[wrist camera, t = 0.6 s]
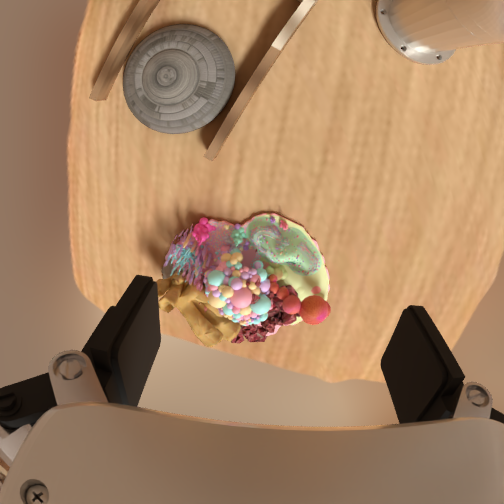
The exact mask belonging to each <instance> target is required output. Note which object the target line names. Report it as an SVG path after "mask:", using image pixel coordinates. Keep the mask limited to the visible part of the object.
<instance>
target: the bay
mask: <svg viewBox="0 0 504 504" xmlns="http://www.w3.org/2000/svg"><path fill="white" fill-rule="evenodd" d="M159 1H160V0H139V2H138V4H137V5H136V7H135V8H134V10H133V12H132V13H131V15H130V17H129V19H128V20H127V22H126V24H125V25H124V27H123V29H122V31H121V33H120V34H119V36H118V38H117V40H116V42H115V44H114V46H113V48H112V50H111V51H110V53H109V55H108V57H107V59H106V62H105V64H104V66H103V68H102V70H101V72H100V74H99V76H98V79H97V81H96V83H95V85H94V87H93V90H92V92H91V94H90V97H89V98H90V99H92V100H95V101H101V100H106V99H107V97H108V94H109V92H110V90H111V88H112V86H113V84H114V81H115V79H116V77H117V75H118V73H119V71H120V69H121V67H122V65H123V63H124V61H125V59H126V57H127V55H128V54H129V52H130V50H131V48H132V46H133V44H134V42H135V41H136V39H137V37H138V35H139V34H140V32H141V30H142V28H143V27H144V25H145V23H146V22H147V20H148V18H149V17H150V15H151V13H152V12H153V10H154V9H155V7H156V5H157V4H158V2H159ZM297 1H299V2H301V4H300V6H299V7H298V8H297V10H296V11H295V12H294V14H293V15H292V17H291V18H290V19H289V21H288V22H287V24H286V25H285V26H284V28H283V29H282V31H281V32H280V33H279V35H278V36H277V38H276V39H275V41H274V42H273V44H272V45H271V47H270V49H269V50H268V52H267V53H266V55H265V56H264V58H263V59H262V61H261V62H260V64H259V65H258V67H257V68H256V70H255V71H254V73H253V75H252V76H251V78H250V79H249V81H248V82H247V84H246V86H245V87H244V89H243V90H242V92H241V94H240V95H239V97H238V99H237V100H236V102H235V103H234V105H233V107H232V108H231V110H230V112H229V113H228V115H227V117H226V118H225V120H224V122H223V124H222V125H221V127H220V129H219V130H218V132H217V134H216V136H215V137H214V139H213V141H212V143H211V144H210V146H209V148H208V150H207V152H206V153H205V155H204V157H205V158H207V159H209V160H211V161H213V160H214V159H215V158H216V156H217V155H218V153H219V151H220V150H221V148H222V146H223V144H224V143H225V141H226V139H227V138H228V136H229V134H230V132H231V131H232V129H233V127H234V126H235V124H236V122H237V121H238V119H239V117H240V116H241V114H242V113H243V111H244V109H245V108H246V106H247V104H248V103H249V101H250V100H251V98H252V96H253V95H254V93H255V92H256V90H257V88H258V87H259V85H260V84H261V82H262V81H263V79H264V78H265V76H266V75H267V73H268V71H269V70H270V68H271V67H272V65H273V64H274V62H275V61H276V59H277V58H278V56H279V55H280V53H281V52H282V50H283V49H284V48H285V46H286V45H287V43H288V42H289V40H290V39H291V37H292V36H293V34H294V33H295V32H296V30H297V29H298V27H299V26H300V25H301V23H302V22H303V20H304V19H305V18H306V16H307V15H308V13H309V12H310V11H311V9H312V8H313V7H314V5H315V4H316V3H317V1H318V0H297Z"/></svg>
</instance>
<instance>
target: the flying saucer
mask: <svg viewBox="0 0 504 504" xmlns="http://www.w3.org/2000/svg"><path fill="white" fill-rule="evenodd" d="M234 82H235V66H234V61H233V58H232V55H231V53H230V51H229V49H228V48H227V46H226V45H225V43H224V42H223V41H222V40H221V39H220V38H219V37H218V36H217V35H215V34H214V33H213V32H211V31H209V30H207V29H205V28H202V27H199V26H196V25H190V24H178V25H171V26H167V27H164V28H162V29H159V30H157V31H155V32H153V33H152V34H150V35H149V36H147V37H146V38H145V39H144V40H142V41H141V42H140V43H139V44H138V46H137V47H136V48H135V49H134V51H133V52H132V54H131V55H130V57H129V59H128V62H127V64H126V67H125V71H124V76H123V91H124V96H125V99H126V102H127V105H128V107H129V109H130V110H131V112H132V113H133V115H134V116H135V117H136V118H137V119H138V120H139V121H140V122H141V123H143V124H144V125H146V126H147V127H149V128H151V129H153V130H156V131H159V132H162V133H168V134H180V133H187V132H190V131H194V130H196V129H199V128H201V127H203V126H204V125H206V124H208V123H209V122H211V121H212V120H213V119H214V118H215V117H216V116H217V115H218V114H219V113H220V112H221V111H222V110H223V108H224V107H225V106H226V104H227V102H228V100H229V99H230V96H231V94H232V91H233V87H234Z"/></svg>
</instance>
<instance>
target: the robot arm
mask: <svg viewBox="0 0 504 504" xmlns="http://www.w3.org/2000/svg"><path fill="white" fill-rule="evenodd" d="M381 12H382V13H383V14H381ZM376 19H377V22H378V26H379V28H380V30H381V33H382V34H383V36H384V38H385V39H386V41H387V42H388V43H389V44H390V45H391V46H392V48H393V49H394V50H396V51H397V52H398V53H399V54H400V55H402V56H404V57H405V58H407V59H409V60H411V61H413V62H416V63H420V64H426V65H432V64H439V63H442V62H444V61H446V60H448V59H449V58H450V57H451V56H452V55H453V54H454V52H455V51H456V49H461V48H467V47H474V46H481V45H489V44H497V43H504V0H378V1H377V4H376ZM401 47H402V49H403V50H401ZM437 58H438V59H437ZM160 342H161V334H160V320H159V304H158V286H157V282H155V281H153V279H152V277H148V276H142V275H136V276H135V278H134V279H133V281H132V282H131V284H130V285H129V287H128V288H127V290H126V291H125V293H124V294H123V296H122V297H121V299H120V300H119V302H118V303H117V305H116V306H111V307H110V308H109V309H108V310H107V312H106V313H105V315H104V316H103V318H102V320H101V321H100V323H99V324H98V326H97V327H96V329H95V331H94V332H93V333H92V335H91V337H90V338H89V340H88V341H87V343H86V344H85V346H84V348H83V349H82V351H81V352H80V351H77V350H68V351H63V352H61V353H59V354H57V355H56V356H54V357H53V358H52V360H51V361H50V363H49V366H48V370H49V372H48V373H45V374H42V375H39V376H36V377H33V378H30V379H27V380H24V381H21V382H18V383H15V384H12V385H8V386H5V387H3V388H0V504H504V414H502V413H500V412H499V411H497V410H495V409H494V408H492V396H491V394H490V392H489V391H488V389H486V387H484V386H483V385H481V384H479V383H477V382H468V383H466V384H465V385H464V384H463V382H462V381H463V380H464V378H465V376H464V374H463V372H462V370H461V368H460V366H459V365H458V363H457V361H456V359H455V358H454V356H453V354H452V352H451V351H450V349H449V347H448V346H447V344H446V342H445V340H444V339H443V337H442V335H441V334H440V332H439V331H438V329H437V327H436V326H435V324H434V322H433V321H432V319H431V318H430V316H429V314H428V313H427V311H426V310H425V308H424V307H423V306H414V305H410V306H408V307H407V309H404V310H403V312H402V315H401V317H400V319H399V322H398V324H397V326H396V328H395V331H394V333H393V335H392V337H391V340H390V342H389V344H388V346H387V348H386V350H385V352H384V354H383V356H382V359H381V369H382V371H383V374H384V377H385V380H386V383H387V386H388V389H389V392H390V395H391V398H392V401H393V404H394V407H395V410H396V414H397V417H398V420H399V423H400V424H392V425H376V426H353V427H302V426H279V425H263V424H251V423H239V422H231V421H222V420H214V419H207V418H200V417H193V416H187V415H180V414H173V413H168V412H162V411H157V410H152V409H147V408H141V407H137V405H138V403H139V400H140V397H141V394H142V391H143V389H144V386H145V383H146V381H147V378H148V375H149V373H150V370H151V367H152V365H153V362H154V360H155V357H156V354H157V352H158V349H159V347H160Z"/></svg>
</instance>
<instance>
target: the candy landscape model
mask: <svg viewBox="0 0 504 504" xmlns="http://www.w3.org/2000/svg"><path fill="white" fill-rule="evenodd" d="M192 226H193V224H192ZM192 226H191V230H190V232H189V234H188V236H187V232H188V230H189V229H187V230H186V231H185V232H184V230H183V231H182V232H181V233H180V234H179V236H178V237H180V236H181V235H182V234H183V232H184V234H183V235H184V237H183V236H181V238H180V241H179V242H178V243H177V244H176V245H175V244H173V242H174V241H172V243H171V246H170V249H169V252H168V253H167V255H166V257H165V259H166V261H165V263H164V265H163V268H162V273H163V279H159V280H158V281H157V286H158V297H160V296H163V295H164V294H165V292H166V291H167V290H168V291H167V292H166V294H165V295H164V296H163V297H162V298H161V299H160V300H159V303H158V304H159V308H160V309H161V310H163V311H165V312H168V313H169V312H170V311H171V310H172V309H173V308H174V307H177V308H178V309H179V311H180V312H181V313H182V315H183V316H184V317H185V318H186V320H187V322H188V323H189V325H190V327H191V329H192V331H193V332H194V334H195V335H196V336H197V338H198V339H199V340H200V341H201V342H202V343H203V344H204V345H205V346H207V347H213V346H214V345H216V344H218V343H220V342H221V340H223V339H224V340H227V341H231V342H232V343H241V342H242V341H244V338H243V335H244V336H245V337H246V339H248V341H249V342H264V341H265V339H266V337H267V336H269V335H272V334H275V333H276V332H277V330H278V329H279V327H280V326H281V325H285V326H287V325H295V324H297V323H298V322H300V321H304V322H306V323H307V324H312V325H314V324H319V323H321V322H322V321H323V320H324V319H325V318H326V317H327V316H329V314H330V305H329V304H328V302H326V300H327V295H328V292H329V290H330V286H329V279H330V277H329V273H328V270H327V267H325V265H324V264H325V260H324V256H323V255H322V254H321V253H320V250H319V247H318V244H317V241H316V240H314V239H312V238H311V237H310V235H309V233H307V232H306V230H305V228H304V227H303V226H301V225H299V224H297V223H295V222H293V221H291V220H289V219H286V218H284V217H282V216H280V215H278V214H276V213H270V214H268V213H262V214H259V215H256V216H253V217H252V219H251V220H249V221H246V222H245V223H244V224H242V225H240V224H238V223H237V224H235V225H234V224H231V223H229V222H227V221H224V220H223V221H217V220H215V219H210V220H208V219H207V218H205V217H203V218H201V219H200V220H199V223H198V224H196V225H195V226H194V231H192V229H193V227H192ZM177 235H178V234H177ZM177 235H176V237H177ZM176 237H175V238H174V240H175V239H176ZM186 237H187V238H186ZM182 238H183V239H182ZM185 238H186V239H185ZM178 240H179V238H178ZM178 240H177V241H178Z"/></svg>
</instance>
